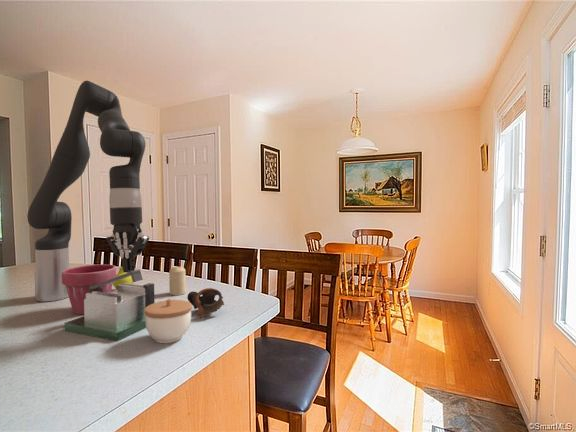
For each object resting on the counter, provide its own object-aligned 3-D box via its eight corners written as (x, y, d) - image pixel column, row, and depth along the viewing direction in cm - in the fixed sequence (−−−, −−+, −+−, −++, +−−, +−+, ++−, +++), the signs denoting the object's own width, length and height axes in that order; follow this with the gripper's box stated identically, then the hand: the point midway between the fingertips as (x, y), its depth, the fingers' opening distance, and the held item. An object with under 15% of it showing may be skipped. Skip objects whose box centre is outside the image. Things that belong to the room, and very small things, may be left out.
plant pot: (50, 314, 93) (49, 271, 93) (94, 300, 106) (93, 262, 106) (85, 320, 88) (84, 274, 88) (127, 305, 102) (126, 265, 101)
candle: (188, 291, 118) (187, 264, 117) (181, 295, 112) (181, 267, 112) (173, 291, 118) (173, 264, 118) (166, 295, 113) (166, 267, 113)
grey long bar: (91, 297, 87) (89, 286, 87) (100, 294, 89) (97, 284, 89) (135, 281, 81) (131, 270, 81) (142, 279, 84) (139, 268, 84)
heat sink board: (64, 330, 81) (63, 288, 81) (117, 311, 96) (117, 275, 96) (117, 341, 75) (116, 295, 74) (165, 318, 90) (165, 280, 89)
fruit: (127, 293, 116) (126, 260, 115) (108, 292, 116) (108, 260, 116) (136, 288, 123) (136, 257, 122) (119, 287, 123) (118, 257, 122)
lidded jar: (164, 351, 70) (163, 309, 69) (135, 340, 75) (134, 301, 75) (201, 335, 79) (201, 297, 78) (173, 326, 84) (172, 291, 84)
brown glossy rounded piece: (228, 309, 100) (229, 290, 96) (214, 332, 92) (215, 312, 88) (194, 297, 102) (193, 278, 98) (177, 319, 94) (176, 299, 90)
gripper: (156, 205, 84) (159, 270, 85) (119, 207, 89) (121, 268, 89) (133, 205, 77) (136, 276, 78) (94, 207, 82) (97, 273, 82)
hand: (128, 271), depth 84 cm, fingers closed
